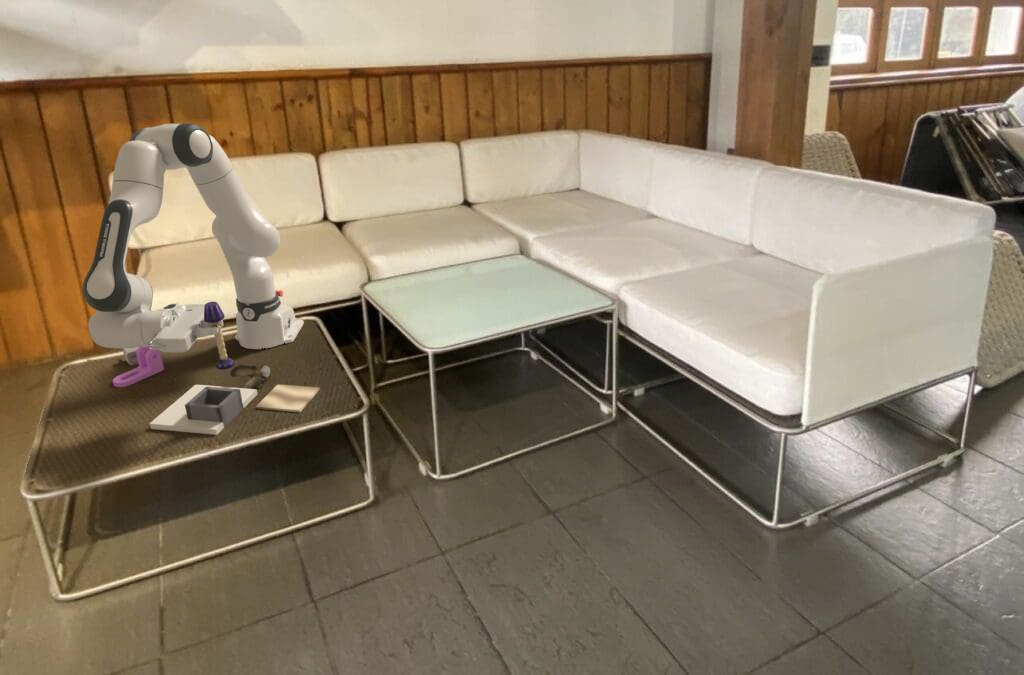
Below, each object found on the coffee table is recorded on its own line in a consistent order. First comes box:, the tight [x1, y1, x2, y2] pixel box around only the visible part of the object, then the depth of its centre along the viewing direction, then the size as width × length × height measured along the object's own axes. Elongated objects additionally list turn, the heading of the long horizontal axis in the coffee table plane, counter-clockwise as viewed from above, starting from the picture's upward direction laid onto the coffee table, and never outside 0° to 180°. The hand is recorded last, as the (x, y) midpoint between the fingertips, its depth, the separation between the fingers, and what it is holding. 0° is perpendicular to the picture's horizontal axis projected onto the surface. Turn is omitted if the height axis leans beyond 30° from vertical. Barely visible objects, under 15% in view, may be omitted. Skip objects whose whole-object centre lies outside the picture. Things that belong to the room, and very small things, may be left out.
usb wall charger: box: [122, 347, 139, 366], centre depth 216 cm, size 4×7×4 cm, turn 40°
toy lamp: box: [204, 301, 236, 371], centre depth 180 cm, size 5×5×17 cm
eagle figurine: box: [229, 361, 271, 389], centre depth 200 cm, size 8×7×9 cm
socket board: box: [149, 384, 258, 436], centre depth 188 cm, size 20×18×6 cm
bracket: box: [112, 346, 165, 388], centre depth 206 cm, size 13×6×7 cm, turn 148°
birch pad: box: [255, 384, 320, 413], centre depth 194 cm, size 12×12×1 cm
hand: (220, 326), depth 179 cm, fingers closed on toy lamp
